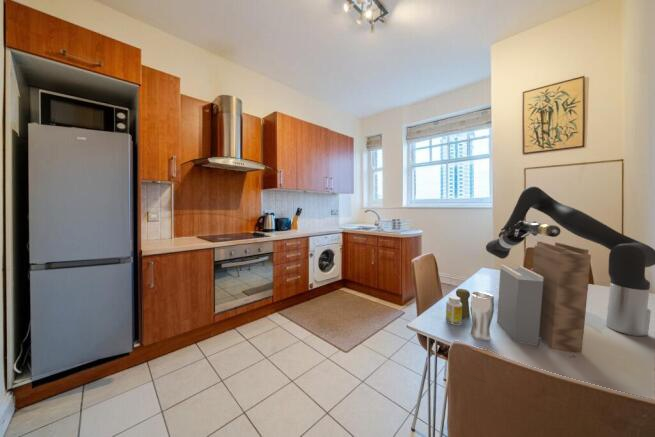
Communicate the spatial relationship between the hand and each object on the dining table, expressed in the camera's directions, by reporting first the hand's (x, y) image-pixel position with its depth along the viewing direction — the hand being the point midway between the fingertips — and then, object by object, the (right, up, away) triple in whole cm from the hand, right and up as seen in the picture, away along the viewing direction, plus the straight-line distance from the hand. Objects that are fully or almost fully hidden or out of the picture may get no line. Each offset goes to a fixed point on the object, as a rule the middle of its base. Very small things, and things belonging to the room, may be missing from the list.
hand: (529, 223), depth 101 cm
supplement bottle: (-34, -40, -4) cm, 52 cm away
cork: (-27, -39, +2) cm, 48 cm away
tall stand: (-5, -41, -16) cm, 44 cm away
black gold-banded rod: (-1, -4, -5) cm, 6 cm away
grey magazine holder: (-15, -40, -12) cm, 44 cm away
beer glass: (-29, -40, -14) cm, 52 cm away
